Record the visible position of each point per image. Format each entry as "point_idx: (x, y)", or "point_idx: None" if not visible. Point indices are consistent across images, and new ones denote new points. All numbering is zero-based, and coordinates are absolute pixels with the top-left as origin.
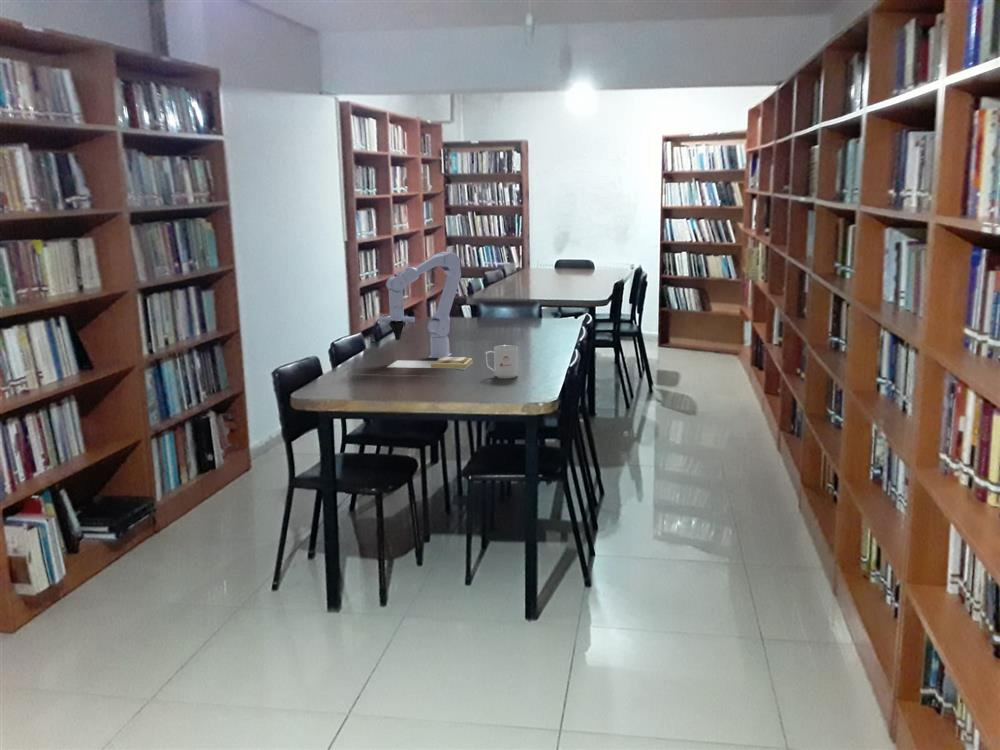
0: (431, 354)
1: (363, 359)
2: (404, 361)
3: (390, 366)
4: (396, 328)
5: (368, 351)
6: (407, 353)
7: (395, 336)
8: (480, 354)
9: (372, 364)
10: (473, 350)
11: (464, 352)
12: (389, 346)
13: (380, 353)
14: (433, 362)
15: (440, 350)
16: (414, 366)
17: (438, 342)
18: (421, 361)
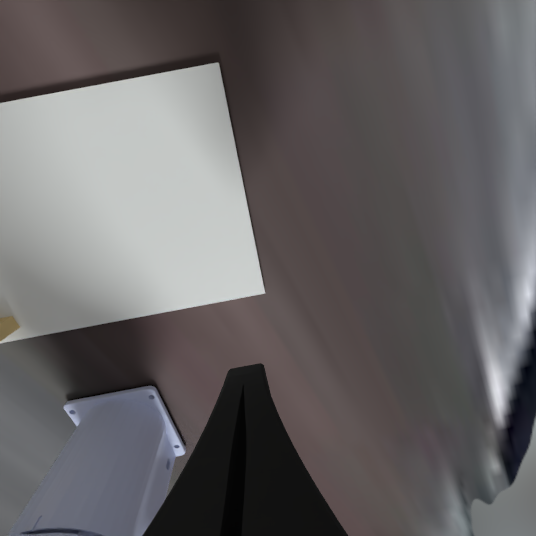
0: (145, 414)
1: (463, 289)
2: (208, 276)
3: (202, 95)
4: (219, 524)
5: (477, 423)
6: (307, 435)
7: (259, 388)
8: (7, 493)
9: (373, 178)
10: None
11: None
12: (420, 494)
13: (418, 409)
14: (26, 296)
15: (73, 438)
16: (35, 145)
17: (48, 490)
18: (114, 302)
